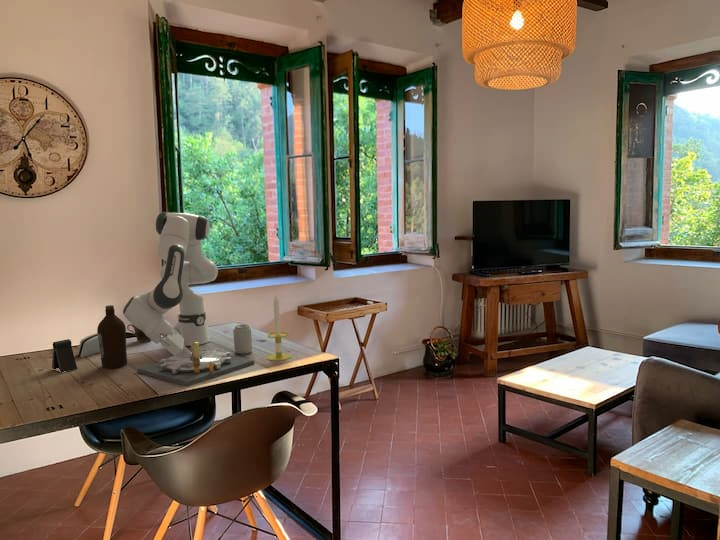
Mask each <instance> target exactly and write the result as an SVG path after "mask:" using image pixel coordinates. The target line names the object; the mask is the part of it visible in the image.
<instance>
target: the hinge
mask: <svg viewBox="0 0 720 540" xmlns="http://www.w3.org/2000/svg"><path fill="white" fill-rule="evenodd" d="M78 345H79V346H78V348H77V351H76V352H75V355H74V357H78V355H79V357H80V358H85V357H89V356H92V355H95V354H98V353H99V354H100V347H99V340H98V334H97V332H96V333H92V334H90V335H88V336H86V337H83V338H82V339H81V340H80V342H79V344H78Z"/></svg>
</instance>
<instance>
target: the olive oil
mask: <svg viewBox="0 0 720 540" xmlns="http://www.w3.org/2000/svg"><path fill="white" fill-rule="evenodd" d="M115 313H116V312H115V306H114V305H109V304H108V305H105V316H104V317H103V318H102V319H101V321H100V322H98V326H97V328H96V329H97V332H96V333H97V334H98V340H99V347H100V352H99V354H100V360H101V361H100V362H101V368H102V369H105V370H106V369H107V370H112V369H113V370H114V369H119V368H122V367H123V368H124V367H125V366H127V365H128V358H127V357H128V356H127V355H128V354H127V334H126V333H127V330H126V329H127V326H126V324H125V322H124V321H123V319H121V318H119V316H117V315H116V314H115Z"/></svg>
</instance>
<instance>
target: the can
mask: <svg viewBox="0 0 720 540" xmlns="http://www.w3.org/2000/svg"><path fill="white" fill-rule="evenodd" d="M252 343H253V341H252V328H251V327H250V325H249V324H243V323H241V324H236V325H234V329H233V344H234V345H233V348H234V352H235V353H236V354H237V355H246V354H250V353H251V351H253V346H252V345H253V344H252Z"/></svg>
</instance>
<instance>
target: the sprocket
mask: <svg viewBox="0 0 720 540" xmlns="http://www.w3.org/2000/svg"><path fill="white" fill-rule="evenodd" d="M190 347H191V351H190V352H191V356H190V357H189V358H187V357H186V356H185V355H183V354H181V353H180V354H179V355H178V356H177V357H176V356H174V355H173V354H172V356H170V357H168V358H162V359H160V362H161V365H160V370H161V371H164V370H167V371H171V372H172V374H178V373H190V372H194V373H200V371H206V370H209V362H213V369H220V368H221V366H222V365H224V364H225V363H231V357H230V355H231V352H229V351H227V352H223V351H218V349H212V350H207V351H202V350H200V345H199V342H191V346H190Z"/></svg>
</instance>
